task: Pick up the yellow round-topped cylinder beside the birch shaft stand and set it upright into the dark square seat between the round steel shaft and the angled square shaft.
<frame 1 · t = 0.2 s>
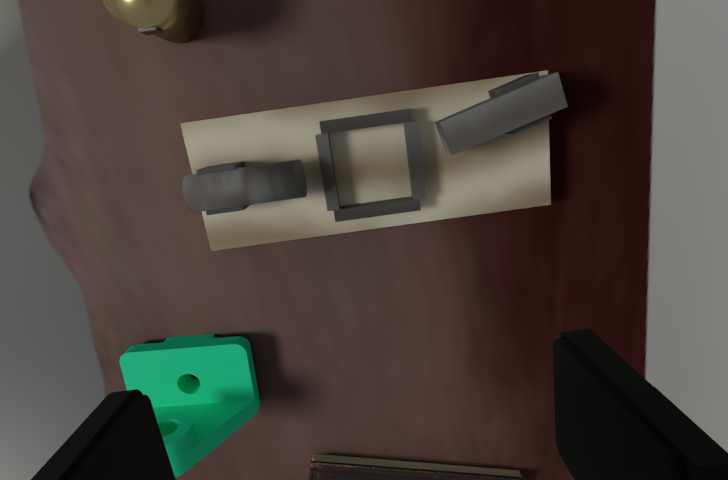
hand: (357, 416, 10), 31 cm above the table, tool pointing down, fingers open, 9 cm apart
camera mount: (199, 367, 45), on the table
yellow round-topped cylinder: (176, 13, 35), on the table
shaft stand: (370, 162, 39), on the table
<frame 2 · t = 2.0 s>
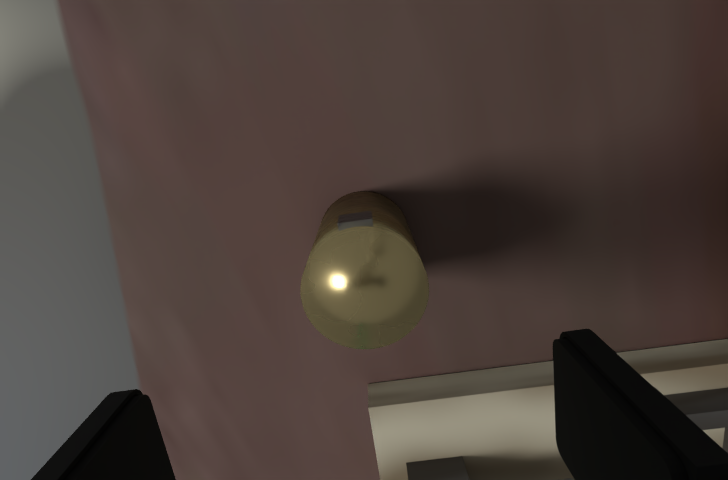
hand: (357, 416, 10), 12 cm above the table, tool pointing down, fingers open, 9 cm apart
yellow round-topped cylinder: (364, 235, 22), on the table
shaft stand: (639, 433, 25), on the table
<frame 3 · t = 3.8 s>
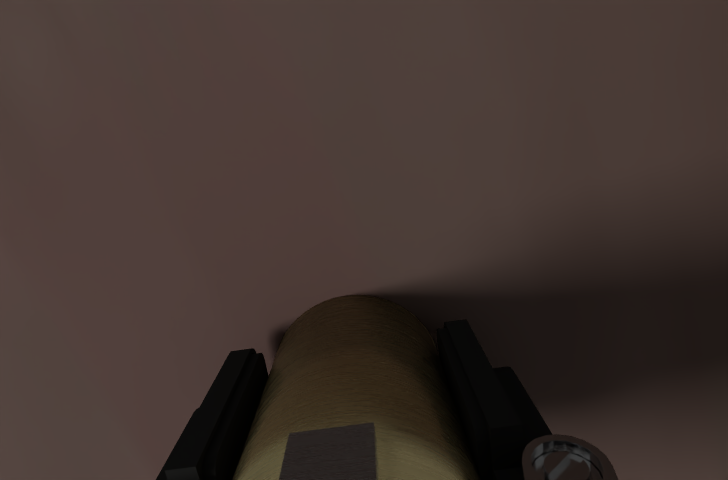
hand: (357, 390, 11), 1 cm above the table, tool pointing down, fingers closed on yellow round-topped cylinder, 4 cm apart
yellow round-topped cylinder: (357, 371, 12), on the table, touching gripper
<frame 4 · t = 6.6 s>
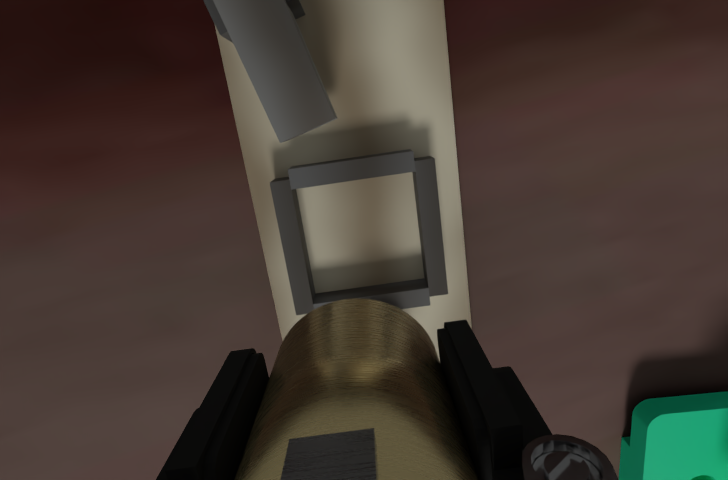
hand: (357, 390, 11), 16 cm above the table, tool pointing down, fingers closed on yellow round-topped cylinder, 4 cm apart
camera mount: (670, 456, 31), on the table
yellow round-topped cylinder: (357, 374, 12), point 15 cm above the table, touching gripper
shaft stand: (361, 224, 26), on the table
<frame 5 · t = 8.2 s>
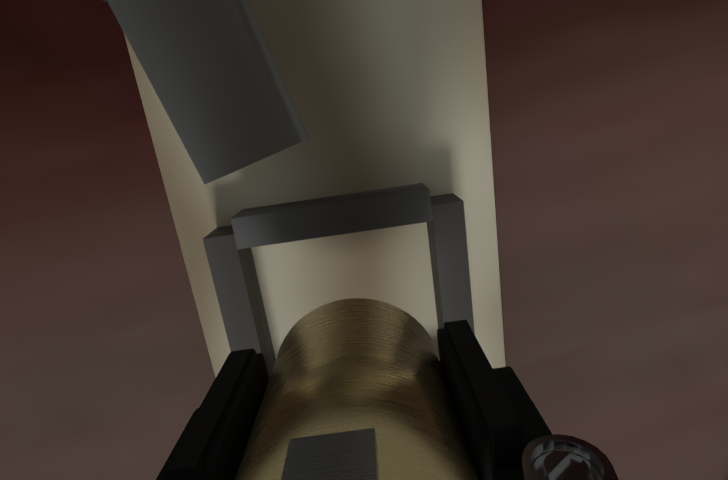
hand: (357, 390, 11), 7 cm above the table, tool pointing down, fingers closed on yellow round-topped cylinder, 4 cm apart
yellow round-topped cylinder: (357, 374, 12), point 6 cm above the table, touching gripper
shaft stand: (350, 286, 18), on the table
when the fingers open (4 cm above the table, at t = 9.6 s): yellow round-topped cylinder drops 1 cm, resting on shaft stand.
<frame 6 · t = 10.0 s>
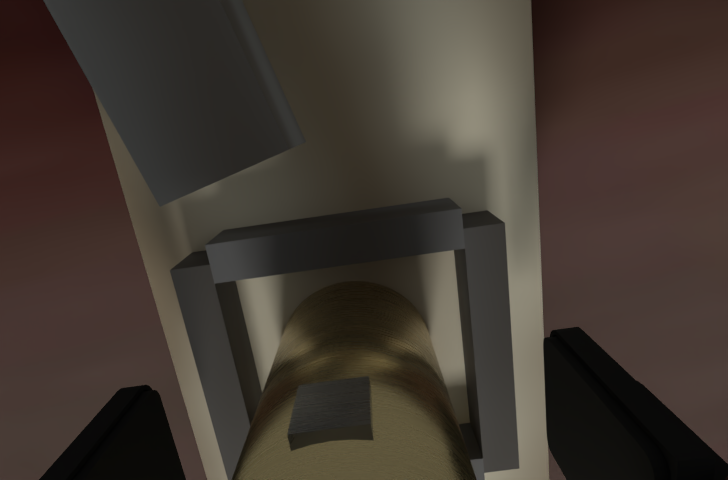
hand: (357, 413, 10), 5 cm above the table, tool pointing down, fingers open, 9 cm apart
yellow round-topped cylinder: (356, 350, 13), point 2 cm above the table, touching shaft stand
shaft stand: (357, 318, 15), on the table
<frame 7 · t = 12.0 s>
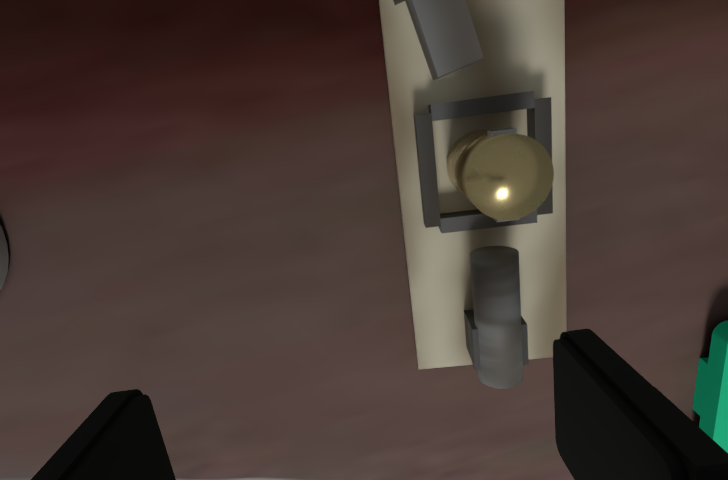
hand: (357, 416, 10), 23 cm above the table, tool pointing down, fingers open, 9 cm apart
yellow round-topped cylinder: (479, 164, 29), point 2 cm above the table, touching shaft stand
shaft stand: (474, 160, 31), on the table
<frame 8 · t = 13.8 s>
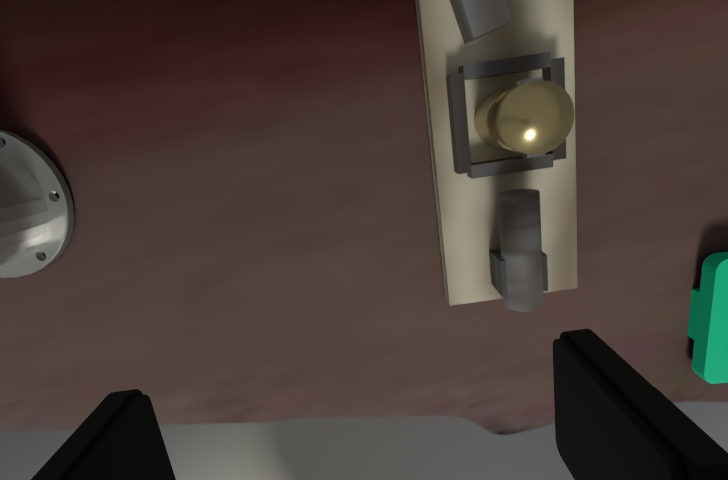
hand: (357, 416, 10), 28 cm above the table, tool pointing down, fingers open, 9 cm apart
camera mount: (727, 307, 41), on the table
yellow round-topped cylinder: (502, 118, 34), point 2 cm above the table, touching shaft stand
shaft stand: (495, 117, 36), on the table
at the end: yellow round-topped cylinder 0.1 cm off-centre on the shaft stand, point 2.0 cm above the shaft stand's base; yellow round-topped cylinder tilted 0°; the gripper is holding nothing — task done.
